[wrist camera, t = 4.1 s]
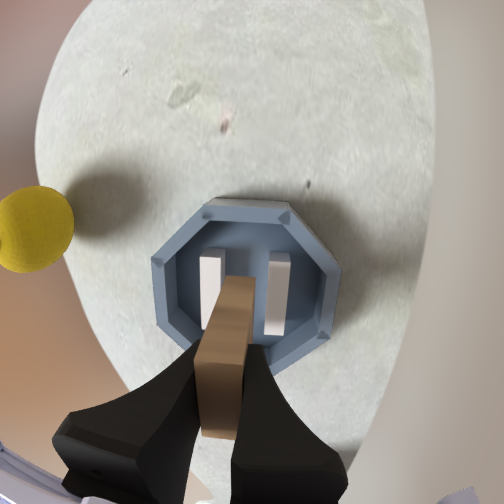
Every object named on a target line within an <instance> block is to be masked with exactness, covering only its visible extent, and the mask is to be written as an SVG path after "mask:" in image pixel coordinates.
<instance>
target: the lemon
mask: <svg viewBox="0 0 504 504" xmlns="http://www.w3.org/2000/svg"><path fill="white" fill-rule="evenodd" d="M73 232H74V216H73V212H72V209H71V206H70V205H69V203H68V201H67V200H66V199H65V198H64V196H63V195H62V194H61V193H59V192H58V191H56V190H54V189H52V188H49V187H44V186H31V187H25V188H22V189H19V190H17V191H15V192H14V193H12V194H10V195H9V196H7V197H6V198H5V199H3V200H2V201H1V202H0V264H1V265H3V266H4V267H5V268H7V269H9V270H11V271H14V272H18V273H25V272H26V273H27V272H34V271H38V270H41V269H44V268H46V267H47V266H49V265H51V264H52V263H54V262H55V261H57V260H58V259H59V258H60V257H61V256H62V255H63V253H64V252H65V251H66V250H67V248H68V247H69V244H70V242H71V240H72V237H73Z"/></svg>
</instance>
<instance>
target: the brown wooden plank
mask: <svg viewBox="0 0 504 504" xmlns="http://www.w3.org/2000/svg"><path fill="white" fill-rule="evenodd" d="M255 285H256V277H244V276H229V275H226V278H225V280H224V283H223V285H222V288H221V290H220V293H219V295H218V298H217V301H216V303H215V306H214V308H213V311H212V313H211V316H210V319H209V321H208V324H207V326H206V329H205V332H204V334H203V337H202V339H201V342H200V345H199V347H198V350H197V353H196V355H195V358H194V369H195V380H196V390H197V399H198V408H199V417H200V425H201V432H202V436H204V437H211V438H219V439H228V440H235V439H236V434H237V429H238V424H239V419H240V413H241V407H242V401H243V390H244V365H245V359H246V353H247V348H248V344H253V327H254V306H255Z"/></svg>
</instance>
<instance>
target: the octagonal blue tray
mask: <svg viewBox="0 0 504 504" xmlns="http://www.w3.org/2000/svg"><path fill="white" fill-rule="evenodd" d="M151 267H152V280H153V291H154V302H155V311H156V320H157V324H156V325H157V326H159V327H160V328H161V329H162V330H163V331H164V332H165V333H166V334H167V335H168V336H169V337H170V338H171V339H173V340H174V341H175V342H176V343H177V344H178V345H179V346H180V347H181V348H182V349H184V350H185V351H186V350H187V349H188V348H189V347H190V346H191V345H192V344H193V343H194V342H195V341H196V340H197V339H202V337H203V334H204V332H205V329H206V326H207V324H208V321H209V319H210V316H211V313H212V311H213V308H214V306H215V303H216V301H217V298H218V295H219V293H220V290H221V288H222V285H223V283H224V280H225V278H226V275H229V276H244V277H256V285H255V306H254V327H253V344H261V345H263V346H264V351H265V356H266V359H267V363H268V365H269V368H270V371H271V373H272V375H273V376H275V375H276V374H278V373H279V372H281V371H282V370H284V369H285V368H287V367H289V366H290V365H292V364H293V363H295V362H296V361H298V360H299V359H301V358H302V357H304V356H305V355H307V354H308V353H310V352H311V351H313V350H314V349H316V348H317V347H318V346H320V345H321V344H323V343H324V342H326V341H327V340H328V339H330V335H331V330H332V325H333V319H334V314H335V308H336V303H337V297H338V291H339V284H340V278H341V272H342V269H341V267H340V266H339V264H338V262H337V261H336V259H335V257H334V256H333V254H332V253H331V252H330V251H329V250H328V249H327V248H326V246H325V245H324V244H323V243H322V242H321V240H320V239H319V238H318V237H317V236H316V235H315V233H314V232H313V231H312V230H311V229H310V228H309V226H308V225H307V224H306V223H305V222H304V221H303V219H302V218H301V217H300V216H299V215H298V214H297V213H296V211H295V210H294V209H293V208H292V207H291V206H290V205H289V203H288V202H287V201H286V202H284V201H268V200H249V199H227V198H213V199H211V200H210V201H208V202H207V203H205V204H203V206H202V207H201V208H200V209H199V210H198V211H197V212H196V213H195V214H194V215H193V216H192V217H191V218H190V219H189V220H188V221H187V222H186V223H185V224H184V225H183V226H182V227H181V228H180V229H179V230H178V231H177V232H176V233H175V234H174V235H173V236H172V237H171V238H170V239H169V240H168V241H167V242H166V243H165V244H164V245H163V246H162V247H161V248H160V249H159V250H158V251H157V252H156V253H155V254H154V255H153V256H152V257H151Z"/></svg>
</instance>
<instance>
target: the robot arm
mask: <svg viewBox="0 0 504 504" xmlns="http://www.w3.org/2000/svg"><path fill="white" fill-rule="evenodd" d="M200 342H201V339H197V340H196V341H195V342H194V343H193V344H192V345H191V346H190V347H189V348H188V349H187V350H186V351H185V352H184V353H183V354H182V355H181V356H180V357H179V358H177V359H176V360H175V361H174V362H173V363H172V364H171V365H170V366H168V367H167V368H166V369H165V370H163V371H162V372H161V373H160V374H158V375H157V376H156V377H154V378H153V379H151V380H150V381H149V382H147V383H146V384H144V385H142V386H141V387H139V388H137V389H135V390H133V391H131V392H129V393H127V394H126V395H123V396H121V397H119V398H117V399H115V400H112V401H109V402H107V403H104V404H101V405H98V406H95V407H91V408H87V409H83V410H79V411H75V412H70V413H69V414H68V415H67V417H66V418H65V419H64V421H63V422H62V424H61V425H60V427H59V428H58V430H57V431H56V433H55V434H54V436H53V438H52V443H53V446H54V448H55V450H56V452H57V453H58V455H59V456H60V457H61V459H62V460H63V462H64V463H65V464H66V466H67V467H68V468H69V471H68V472H67V474H66V476H65V478H64V479H61V478H58V477H57V476H55V475H53V474H51V473H49V472H47V471H45V470H43V469H41V468H40V467H38V466H36V465H34V464H32V463H31V462H29V461H27V460H26V459H24V458H22V457H21V456H19V455H17V454H16V453H14V452H13V451H11V450H10V449H8V448H6V447H5V446H4V445H3V443H2V441H1V440H0V503H1V504H183V501H184V495H185V489H186V483H187V478H188V473H189V467H190V462H191V458H192V453H193V448H194V444H195V441H196V437H197V434H198V431H199V429H200V426H201V425H200V417H199V408H198V399H197V390H196V380H195V369H194V358H195V355H196V353H197V350H198V347H199V345H200ZM347 486H348V478H347V474H346V471H345V468H344V465H343V462H342V460H341V458H340V456H339V454H338V453H337V452H336V451H334V450H333V449H332V448H330V447H329V446H328V445H326V444H325V443H324V442H323V441H322V440H320V439H319V438H318V437H317V436H316V435H315V434H314V433H313V432H312V431H311V430H310V429H309V428H308V427H307V426H306V425H305V424H304V423H303V421H302V420H301V419H300V418H299V417H298V416H297V415H296V413H295V412H294V411H293V409H292V408H291V407H290V405H289V404H288V402H287V401H286V399H285V398H284V396H283V394H282V393H281V391H280V389H279V387H278V386H277V384H276V382H275V380H274V377H273V375H272V373H271V371H270V368H269V365H268V363H267V359H266V356H265V351H264V346H263V345H261V344H248V348H247V353H246V359H245V365H244V390H243V401H242V407H241V413H240V419H239V424H238V429H237V434H236V439H235V444H234V448H233V453H232V457H231V500H230V504H338V501H339V499H340V498H341V496H342V495H343V493H344V492H345V490H346V489H347ZM436 504H480V503H479V500H478V498H477V496H476V493H475V490H474V488H473V487H472V486H470V487H468V488H466V489H463V490H460V491H458V492H455V493H452V494H450V495H447V496H445V497H444V498H442V499H441V500H439V501H438V502H437V503H436Z"/></svg>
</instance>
